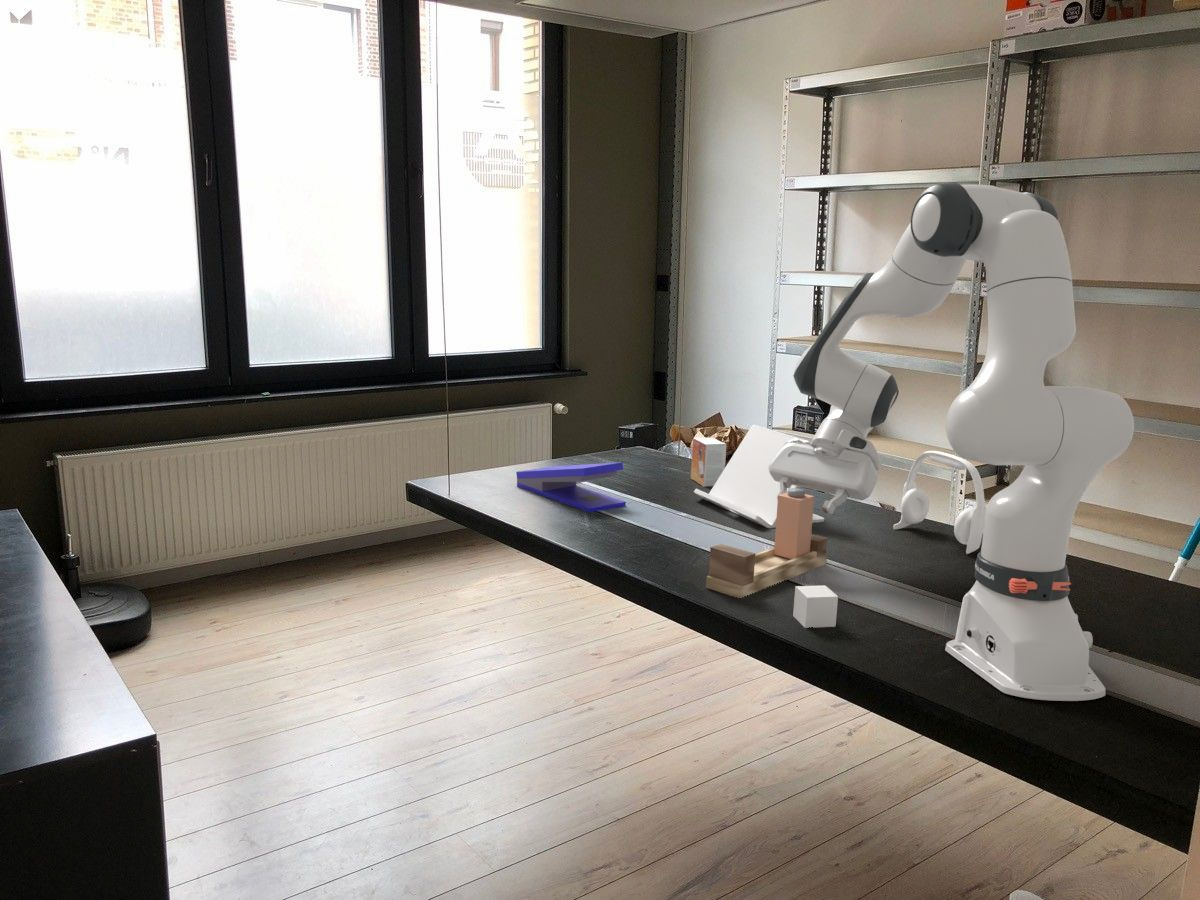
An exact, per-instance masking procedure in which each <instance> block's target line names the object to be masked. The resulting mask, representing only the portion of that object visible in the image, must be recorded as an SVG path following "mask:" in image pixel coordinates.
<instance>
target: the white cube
mask: <svg viewBox="0 0 1200 900" xmlns="http://www.w3.org/2000/svg"><path fill="white" fill-rule="evenodd" d="M838 602H839V596H838V595H837V594H836V593H834V591H832V589H830V588H829V587H828V586H826V585H825V584H823V585H802V586H801V585H797V586H796V585H795V588H794V600H793V614H792V616H793V618H795V620H796V621H798V623H800V625H801V626H803V628H805V629H808V628H809V627H810V628H811V627H813V629H814V628H835V627H836V625H837V615H838V614H837V613H838ZM810 628H809V629H810ZM811 629H812V628H811Z"/></svg>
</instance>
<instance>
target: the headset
mask: <svg viewBox="0 0 1200 900" xmlns="http://www.w3.org/2000/svg"><path fill="white" fill-rule="evenodd" d="M927 458H928V459H929V460H930V461H932V462H935V463H939V464H943V465H946V466H949V467H952V468H955V469H957V470H960V471H965V470H967V471H968V472H969V474H970V476H971V478H972V481H973V486H974V490H975V491H974V492H975V493H974V494H975V502H976V503H975V505H976V506H975V507H972V506H970V507H967V508H965V509H964V510H962V511H961V512H960V513H959V514H958V516H957V518H956V519H955V522H954V527H953V529H954V530H953V532H954V536H955V538H956V540H957V541H958V542H959V543H960V544H962V545H966V549H965V553H966V555H968V554H971V553H973V552H975V551H977V550H978V549H979V548H980V547H981V545H982V538H983V530H984V522H985V513H986V507H987V506H986V501H985V493H984V491H985V490H984V486H983V482H982V478H981V475H980V473H979V471H978V469H977V468H976V466H975V465H973V464H972V463H971V462H970V461H969V460H967V459H963V458H961V457H960V456H957V455H955V454H950V453H946V452H943V451H939V450H928V451H924V452H923V453H921V454H919V455H918V456H917V457H916V458H915V460H914V461H913V463H912V466H911V468H910V470H909V473H908V476H907V479H906V481H905V483H904V485H903V489H902V499H901V506H900V511H901V516H900V521H899V522H898V523H895V524H893V527H892V528H893V530H899V529H904V528H906V527H908V526H910V525H913V524H920V523H922V522H923V520H925V518H926V517H927V515H928V513H929V509H930V500H929V499H930V498H929V495H928V494H927V493H926V492H925V490H923V489H921V488H919V487H917V484H916V483H915V481H916V477H917V474H918V471H919V469H920V466H921V464H922V463H923V462H924V460H925V459H927Z"/></svg>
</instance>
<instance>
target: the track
mask: <svg viewBox="0 0 1200 900" xmlns="http://www.w3.org/2000/svg"><path fill="white" fill-rule="evenodd" d="M827 547H828V538H827V537H824V536H822V535H821V536H820V535H817V534H812V533H811V544H810V553H807V554H805V555H802V556H799V557H797V558H794V559H789V558H786V557H782V556H779V555H775V554H774V547H771V548H768V549H764V550H763V551H760V552H758V553H757V552H752V551H749V550H746V549H745V550H744V549H741V548H738V547H734V546H731V545H727V544H723V543H719V544H716V545H712V546H711V547H710V548H709V562H708V563H709V565H708V567H709V568H708V575H707V576H706V580H705V581H706V583H705V588H706V589H709V590H712V591H714V592H718V593H721V594H724V595H726V596H727V595H728V596H730V597H733V596H734V597H733V598H736V597H737V599H739V598H741V599H743V598H745V597H744V596H746V597H747V595H748V596H750V594H751V595H753V594H755V592H756V593H758V592H760V591H762V589H763V590H765V589H767V587H768V588H769V586H770V587H772V585H773V586H775V585H778V584H780V583H782V581H783V582H785V581H787V579H788V580H791V579H792V578H794V577H797V576H800V575H802V574H805V573H808V572H810V571H812V570H815V569H817V568H820V567H822V566H825V565H827V563H828V553H827ZM784 580H785V581H784ZM779 582H780V583H779ZM777 583H778V584H777ZM774 584H775V585H774ZM759 590H760V591H759ZM757 591H758V592H757ZM752 593H753V594H752ZM742 597H743V598H742Z"/></svg>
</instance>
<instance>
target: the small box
mask: <svg viewBox="0 0 1200 900" xmlns="http://www.w3.org/2000/svg"><path fill="white" fill-rule="evenodd" d="M726 457H727V443H724V442H723V441H720V440H718V439H716V438H715V437H693V439H692V452H691V467H690V469H691V470H690V479H691V480H693V481H694V482H696V483H697V484H699V485H701V487H703V488H704V487H713V486H714V485H715V483H716V482H717V480H718V478H719V477H720V475H721V474H722V472H723V470H724V469H725V467H726Z"/></svg>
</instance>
